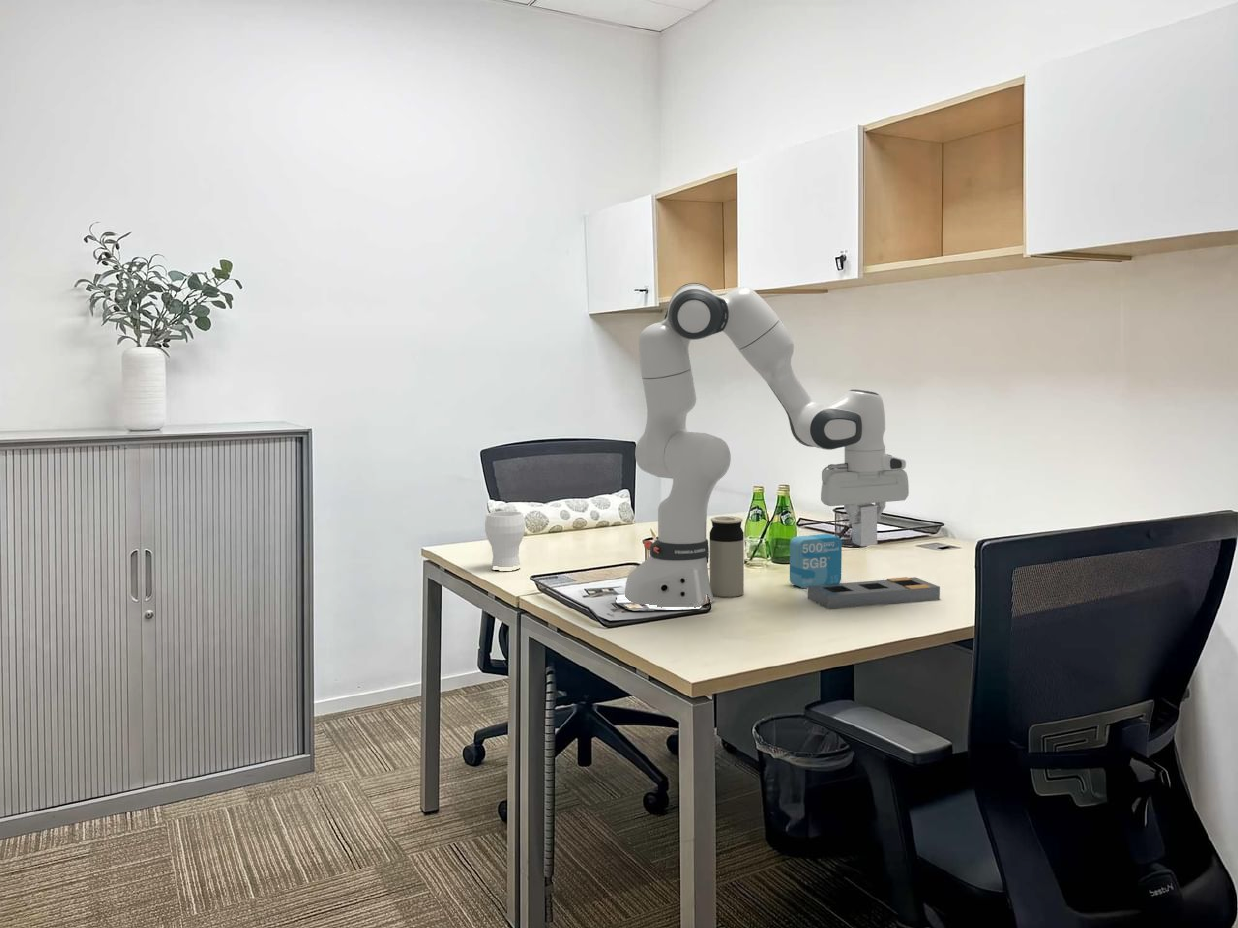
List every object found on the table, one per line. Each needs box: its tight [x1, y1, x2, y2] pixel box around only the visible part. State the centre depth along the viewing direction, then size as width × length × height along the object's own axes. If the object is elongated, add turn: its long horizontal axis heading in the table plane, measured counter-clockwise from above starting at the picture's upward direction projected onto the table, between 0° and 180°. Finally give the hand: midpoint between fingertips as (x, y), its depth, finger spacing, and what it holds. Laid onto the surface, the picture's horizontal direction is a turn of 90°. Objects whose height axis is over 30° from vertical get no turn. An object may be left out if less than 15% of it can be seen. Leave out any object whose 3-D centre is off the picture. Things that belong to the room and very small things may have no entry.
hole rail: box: [807, 576, 941, 610], centre depth 217 cm, size 28×10×3 cm, turn 105°
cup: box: [484, 510, 526, 567], centre depth 254 cm, size 11×11×15 cm
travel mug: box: [709, 515, 745, 598], centre depth 223 cm, size 8×8×18 cm
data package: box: [789, 533, 843, 589], centre depth 231 cm, size 12×4×12 cm, turn 110°
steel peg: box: [851, 503, 878, 548], centre depth 214 cm, size 4×4×9 cm
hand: (864, 522), depth 214 cm, fingers closed on steel peg, 4 cm apart
